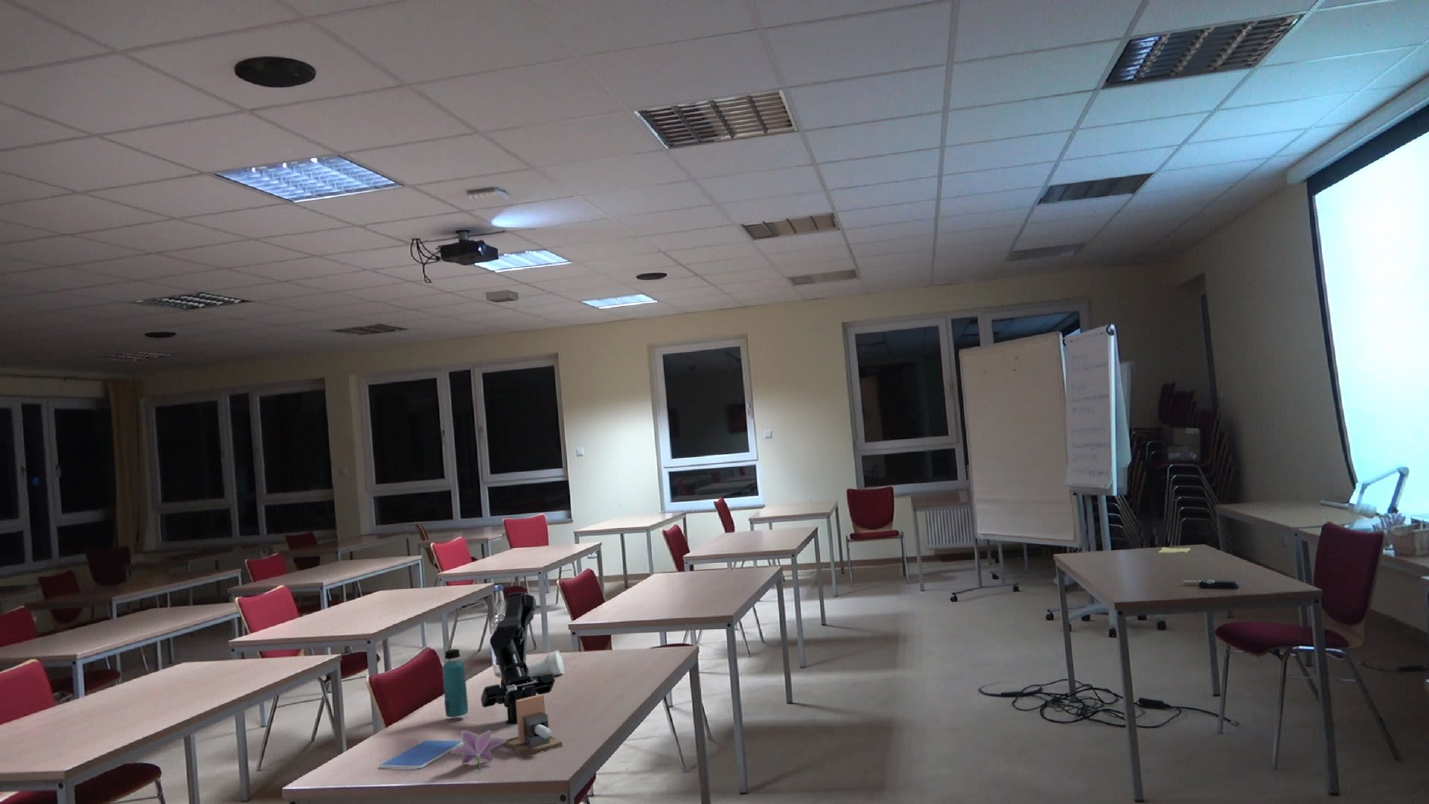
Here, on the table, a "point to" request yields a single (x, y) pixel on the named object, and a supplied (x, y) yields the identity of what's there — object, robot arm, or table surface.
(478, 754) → the lily
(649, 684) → the table surface
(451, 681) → the beverage bottle
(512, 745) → the tan board
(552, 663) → the spotlight
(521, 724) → the salmon pink upright block
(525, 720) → the charcoal metal brick
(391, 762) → the tablet computer
